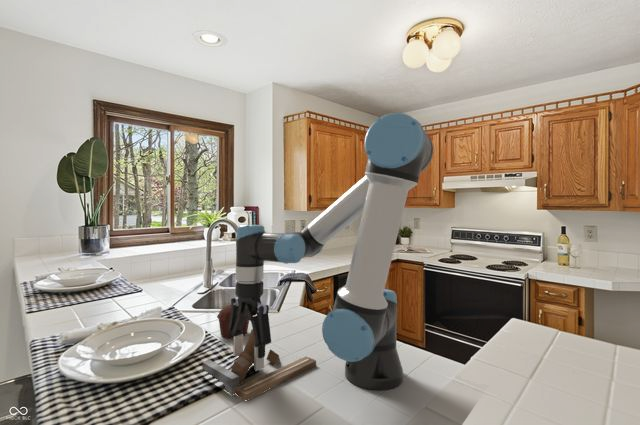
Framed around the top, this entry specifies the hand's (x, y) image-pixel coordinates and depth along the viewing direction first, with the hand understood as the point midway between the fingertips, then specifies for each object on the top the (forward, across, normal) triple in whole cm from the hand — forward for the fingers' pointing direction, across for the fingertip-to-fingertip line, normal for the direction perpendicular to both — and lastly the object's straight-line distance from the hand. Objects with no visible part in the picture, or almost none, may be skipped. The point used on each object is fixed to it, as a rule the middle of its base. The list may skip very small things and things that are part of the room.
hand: (248, 363), depth 90 cm
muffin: (+2, +26, -13) cm, 29 cm away
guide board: (+1, -4, -1) cm, 4 cm away
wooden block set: (+2, -2, 0) cm, 2 cm away
